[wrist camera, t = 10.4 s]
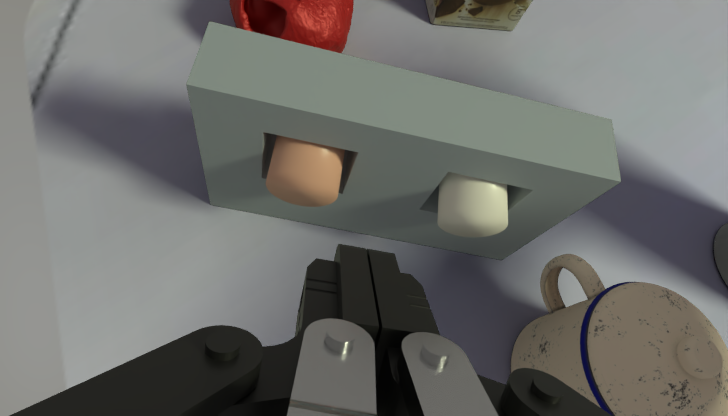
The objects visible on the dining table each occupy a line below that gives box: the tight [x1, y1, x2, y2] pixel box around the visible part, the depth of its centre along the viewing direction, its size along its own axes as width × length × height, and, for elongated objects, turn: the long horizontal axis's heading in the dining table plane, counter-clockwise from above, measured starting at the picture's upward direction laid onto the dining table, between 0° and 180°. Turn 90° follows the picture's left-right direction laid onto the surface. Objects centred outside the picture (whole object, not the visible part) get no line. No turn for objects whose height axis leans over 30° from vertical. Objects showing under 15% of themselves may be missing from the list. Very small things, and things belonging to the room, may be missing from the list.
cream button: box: [437, 172, 508, 237], centre depth 28 cm, size 7×4×4 cm, turn 173°
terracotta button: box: [266, 135, 345, 207], centre depth 27 cm, size 7×4×4 cm, turn 173°
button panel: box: [186, 21, 621, 260], centre depth 29 cm, size 4×22×13 cm, turn 83°
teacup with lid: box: [511, 254, 728, 416], centre depth 28 cm, size 12×9×12 cm
